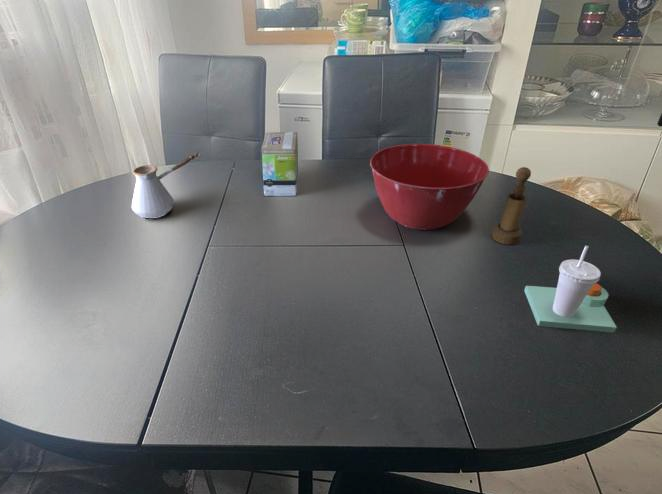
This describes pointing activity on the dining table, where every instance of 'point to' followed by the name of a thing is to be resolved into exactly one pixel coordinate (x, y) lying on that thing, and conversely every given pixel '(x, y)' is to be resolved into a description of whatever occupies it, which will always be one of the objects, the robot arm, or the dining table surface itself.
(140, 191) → the coffee pot
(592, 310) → the mint green button board
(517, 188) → the mortar and pestle
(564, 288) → the smoothie
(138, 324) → the dining table surface
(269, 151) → the tea box
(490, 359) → the dining table surface
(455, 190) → the mixing bowl
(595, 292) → the button
